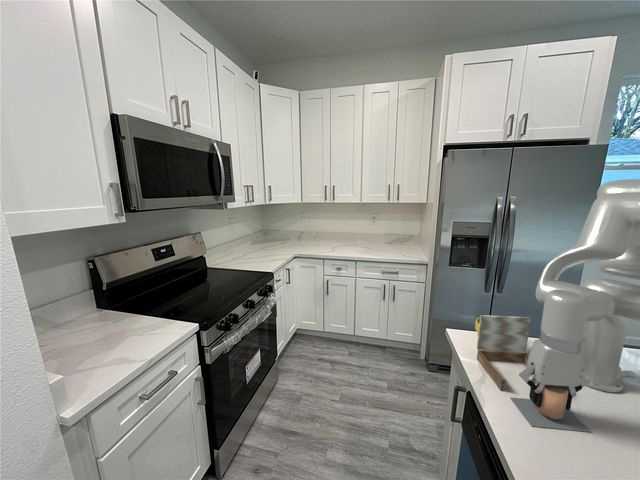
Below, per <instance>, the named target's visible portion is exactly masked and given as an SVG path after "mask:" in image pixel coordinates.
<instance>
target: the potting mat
mask: <svg viewBox="0 0 640 480" xmlns="http://www.w3.org/2000/svg"><path fill="white" fill-rule="evenodd" d="M509 399H510V400H511V401H512V403H513V404H514V405H515V408H517V410H518V411H519V413H521V414H522V416H523V417H524V419H525V420H526V421H527V423H528V424H529V425H530V426H531V427H533V428H542V429H553V430H561V431H571V432H572V431H573V432H574V431H575V432H583V433H584V432H585V433H592V431H591V430H590V429H589V427H588V426H587V425H585V424H584V423H583V422H582V421H581V419H579V418H578V417H577V415H576V414H574V412H572V411H571V409H570V410H567V409H565V415H564V418H563V419H553V418H550V417H548V416H545V415H544V414H542V413H540V412H539V411H538V410H537V409H536V408H535V407H534V405H533V402H532V401H531V399H530V398H524V397H523V398H521V397H520V398H519V397H511V396H510V397H509Z"/></svg>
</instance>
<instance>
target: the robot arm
mask: <svg viewBox="0 0 640 480" xmlns="http://www.w3.org/2000/svg"><path fill="white" fill-rule="evenodd" d="M577 240H578V241H577V242H576V244H575V245H573V246H572V247H570V248H568V249H566V250H564V251H562V252H560V253H558V254H557V255H556V256H554V257H553V258H552V259H551V260H550V261H548V262H547V264H546V265H544V268H543V270H542V272H541V275H540V277H539V279H538V282H537V285H536V288H535V298H536V300H537V301H538V302H539V303H540V304H541V305H543V311H542V316H541V323H540V331H539V337H538V339H535V340H534V341H533V343H532V345H531V348H530V351H529V354H528V355H529V357H528V361H527V366H526V365H525V366H526V367H525V369H523V370H522V371H521V372H519V373H518V376H519V377H520V378H521V380H523V381H524V383H526V384H527V385H528V386H529V387H530V390H529V399H531V401H532V402H533V403H534V404H535V405H536V406H537V407H541V403H542V397H543V395H542V393H541V391H542V389H543V388H544V386H545V385H557V386H565V387H566V388H567V389H568V391H569V392H568V398H567V403H566V409H567V410H570V411H571V407H572V403H573V402H572V401H573V397H575V396H577V393H578V392H579V391H581V390H583V388H585V387H586V386H587V387H589V388H592V389H594V390H598V391H601V392H606V393H620V392H622V391H623V390H624V383H623V381H622V380H621V379H624V378H628V379H635V378H636V373H635V372H634V371H632V370H625V369H624V370H622V368H621V366H620V363H621V359H622V355H623V354H622V353H623V349H624V345H625V340H626V336H627V329H626V326H625V324H624V322H623V321H622V319H621V318H620V317H623V318H625V319H626V318H627V319H629V320H633V321H637V322H640V284H635V283H632V282H631V283H630V282H625V281H621V280H615V279H610V278H604V277H590V278H587V279H585V280H584V281H583V282H582V283H581V285H579V284H574V283H570V282H566V281H562V280H558V279H559V277H560V275H561V274H563V272H564V271H566V270H567V269H569V268H571V267H573V266H577V265H581V264H584V263H585V264H586V263H592V262H596V263H595V264H596V268H597V269H598V271H600V272H602V273H604V274H608V275H611V276H616V277H622V278H627V279H632V280H636V281H637V280H638V281H640V178H633V179H617V180H612V181H607V182H605V183H603V184H601V185H600V186H599V187H598V189H597V191H596V199H594V201H593V203H592V205H591V207H590V210H589V212H588V214H587V216H586V219H585V222H584V225H583V228H582V230H581V233H580V235H579V238H578V239H577ZM530 377H531V378H530ZM537 382H538V384H537V386H536V383H537Z"/></svg>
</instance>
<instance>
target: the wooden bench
mask: <svg viewBox="0 0 640 480" xmlns="http://www.w3.org/2000/svg"><path fill="white" fill-rule="evenodd" d="M479 318H480V323H479V332H478V335H477V342H476V343H477V344H476V350H477V355H476V360H477V361H478V362H479V364H480V365H481V366H482V368H483V369H484V370H485V372H486V373H487V374H488V376H489V377H490V379H491V380H492V381H493V383H494V384H495V385H496V387H497V388H498V389H499V391H500V392H503V391H504V383H505V380H504V378H503V377H502V376H501V374H500V373H499V372H498V371H497V370H496V368H495V367H494V366H493V365H492V363H491V362H498V363H499V362H500V363H501V362H502V363H513V364H514V363H516V364H524V363H525V364H526V365H527V361H528V357H529V354H528V353H527V348H528V347H527V346H528V343H529V342H528V340H529V333H530V328H531V327H530V326H531V320H532V317H529V316H528V317H527V316H511V315H510V316H507V315H486V314H485V315H482V314H480V315H479ZM487 350H493V351H487ZM525 364H524V365H525ZM526 365H525V366H526Z"/></svg>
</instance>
